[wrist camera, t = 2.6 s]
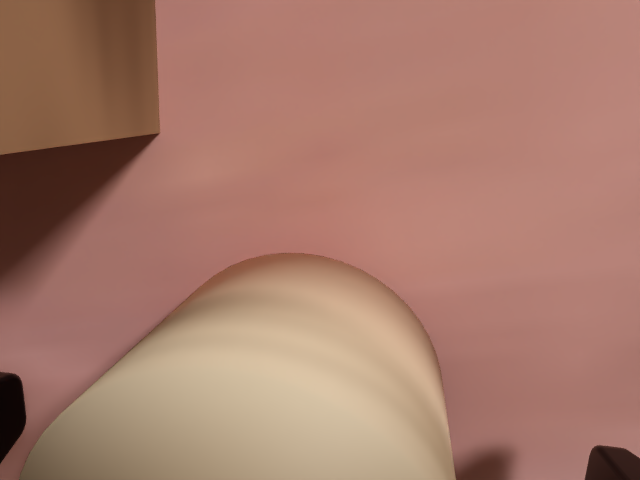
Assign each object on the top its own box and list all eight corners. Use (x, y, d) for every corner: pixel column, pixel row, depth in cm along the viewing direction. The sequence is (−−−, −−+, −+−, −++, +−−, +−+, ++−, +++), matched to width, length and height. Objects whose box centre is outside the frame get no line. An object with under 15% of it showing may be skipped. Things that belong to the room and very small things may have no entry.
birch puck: (427, 523, 10) (444, 796, 6) (170, 486, 10) (36, 708, 7) (457, 265, 8) (501, 399, 5) (161, 241, 9) (-13, 340, 5)
